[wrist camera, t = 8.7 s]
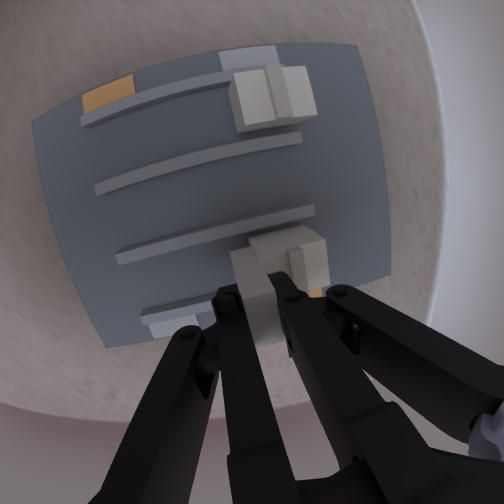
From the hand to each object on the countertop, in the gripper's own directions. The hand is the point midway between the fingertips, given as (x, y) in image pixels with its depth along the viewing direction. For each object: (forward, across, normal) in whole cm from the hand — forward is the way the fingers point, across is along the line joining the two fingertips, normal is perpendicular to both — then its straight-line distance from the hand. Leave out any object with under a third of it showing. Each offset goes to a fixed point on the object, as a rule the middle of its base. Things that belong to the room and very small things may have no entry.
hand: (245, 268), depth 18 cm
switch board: (+4, 0, +5) cm, 6 cm away
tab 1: (+1, +4, +10) cm, 11 cm away
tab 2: (+1, +3, 0) cm, 3 cm away
